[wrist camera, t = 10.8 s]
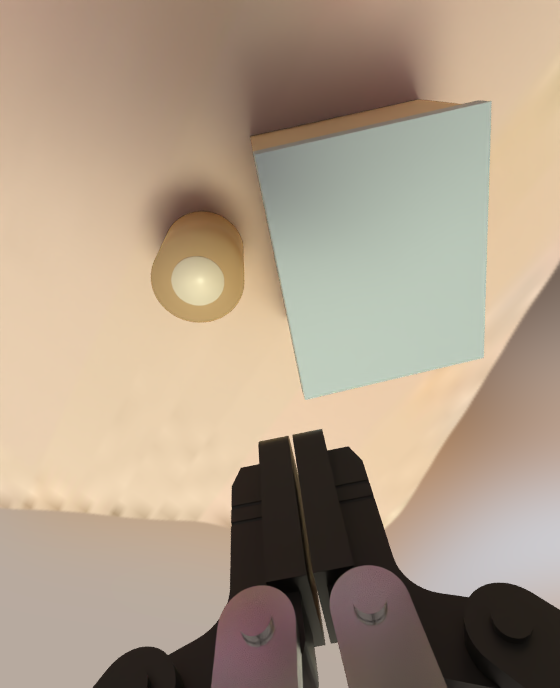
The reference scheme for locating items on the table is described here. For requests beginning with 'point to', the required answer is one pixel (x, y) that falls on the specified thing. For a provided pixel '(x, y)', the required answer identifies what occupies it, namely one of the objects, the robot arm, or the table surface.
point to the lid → (382, 245)
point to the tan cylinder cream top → (199, 268)
